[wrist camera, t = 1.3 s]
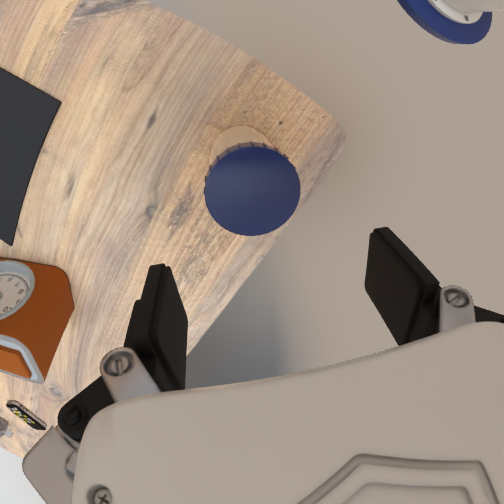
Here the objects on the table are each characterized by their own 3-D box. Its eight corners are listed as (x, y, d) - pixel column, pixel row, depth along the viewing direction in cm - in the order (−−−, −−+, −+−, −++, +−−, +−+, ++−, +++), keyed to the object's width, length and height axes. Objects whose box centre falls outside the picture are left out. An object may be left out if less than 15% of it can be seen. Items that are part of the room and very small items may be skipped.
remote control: (36, 424, 57) (34, 430, 55) (5, 400, 50) (3, 405, 49) (48, 425, 57) (47, 431, 55) (17, 400, 50) (15, 406, 48)
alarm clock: (66, 265, 33) (22, 345, 21) (76, 314, 37) (47, 392, 25) (-14, 253, 30) (-63, 315, 18) (0, 299, 34) (-37, 362, 22)
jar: (234, 113, 26) (244, 128, 17) (283, 149, 29) (314, 183, 20) (197, 162, 28) (189, 202, 20) (246, 194, 31) (259, 245, 22)
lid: (242, 122, 18) (244, 125, 17) (313, 177, 21) (320, 184, 20) (186, 196, 21) (184, 205, 19) (257, 241, 23) (260, 252, 22)
